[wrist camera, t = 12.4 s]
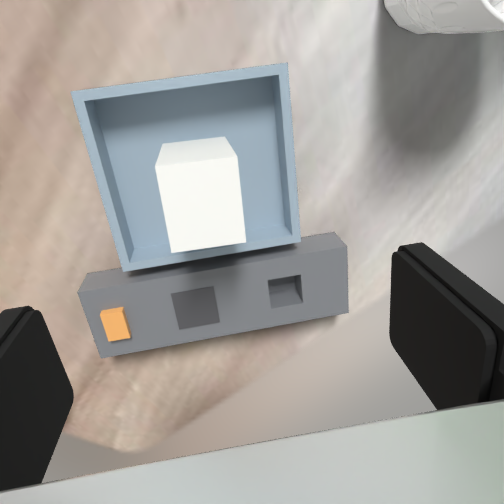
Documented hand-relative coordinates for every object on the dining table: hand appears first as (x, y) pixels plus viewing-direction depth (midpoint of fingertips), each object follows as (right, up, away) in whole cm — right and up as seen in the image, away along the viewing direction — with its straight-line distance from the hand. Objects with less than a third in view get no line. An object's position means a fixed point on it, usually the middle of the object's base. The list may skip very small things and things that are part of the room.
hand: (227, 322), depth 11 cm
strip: (-2, -1, +23) cm, 23 cm away
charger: (-3, +8, +18) cm, 20 cm away
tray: (-3, +8, +18) cm, 20 cm away
